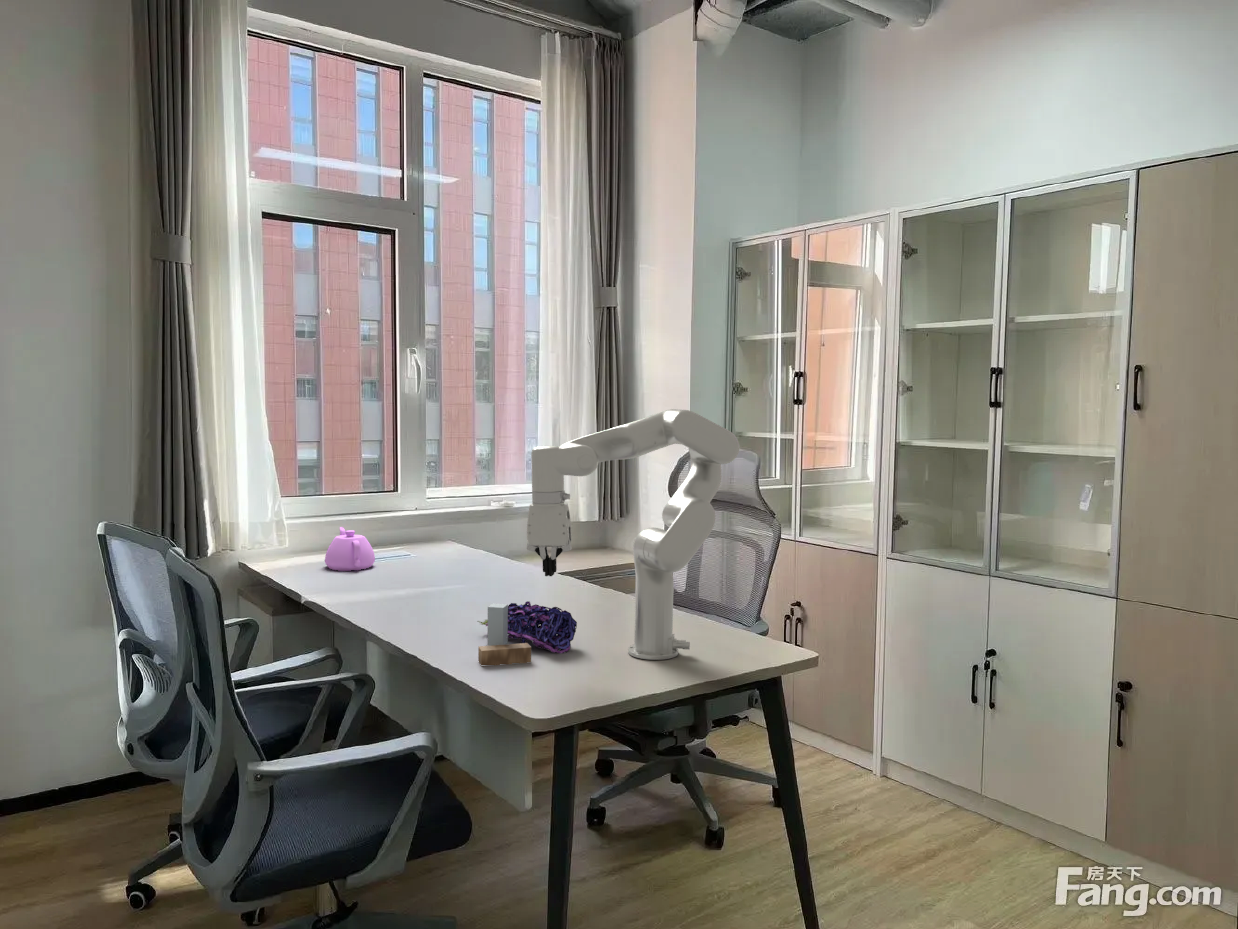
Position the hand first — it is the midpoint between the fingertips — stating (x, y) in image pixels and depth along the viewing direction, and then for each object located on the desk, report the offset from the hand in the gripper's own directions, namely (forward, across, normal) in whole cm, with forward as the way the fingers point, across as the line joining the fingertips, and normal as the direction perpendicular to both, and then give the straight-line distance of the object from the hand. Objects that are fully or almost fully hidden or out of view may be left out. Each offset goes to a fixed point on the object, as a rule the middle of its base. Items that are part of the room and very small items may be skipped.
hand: (549, 575), depth 218 cm
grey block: (+21, +15, -6) cm, 27 cm away
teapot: (+21, +101, -105) cm, 148 cm away
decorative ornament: (+22, +12, -18) cm, 31 cm away
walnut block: (+20, +6, -2) cm, 21 cm away
